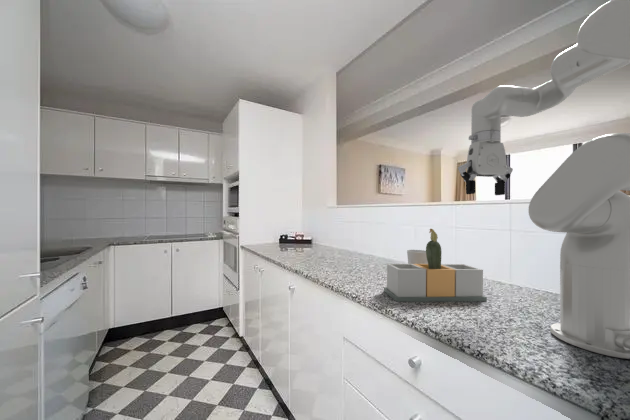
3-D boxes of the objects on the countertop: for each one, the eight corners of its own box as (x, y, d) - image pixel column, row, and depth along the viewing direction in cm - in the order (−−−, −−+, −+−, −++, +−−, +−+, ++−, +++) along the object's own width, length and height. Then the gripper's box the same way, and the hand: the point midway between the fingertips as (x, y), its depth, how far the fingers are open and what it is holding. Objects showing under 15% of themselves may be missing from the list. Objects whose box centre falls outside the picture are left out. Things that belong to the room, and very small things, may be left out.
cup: (425, 280, 96) (425, 250, 96) (432, 286, 88) (433, 253, 88) (404, 279, 97) (404, 249, 97) (410, 285, 89) (410, 252, 89)
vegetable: (444, 294, 75) (444, 229, 75) (429, 294, 75) (429, 229, 75) (437, 290, 79) (437, 228, 79) (423, 289, 79) (423, 228, 79)
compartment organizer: (486, 301, 73) (486, 270, 73) (396, 301, 71) (396, 269, 71) (463, 290, 83) (463, 263, 83) (383, 291, 81) (384, 263, 81)
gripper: (468, 134, 72) (467, 192, 72) (522, 137, 74) (522, 194, 73) (451, 142, 80) (451, 194, 79) (501, 144, 81) (501, 196, 81)
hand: (485, 194), depth 76 cm, fingers open, 9 cm apart
